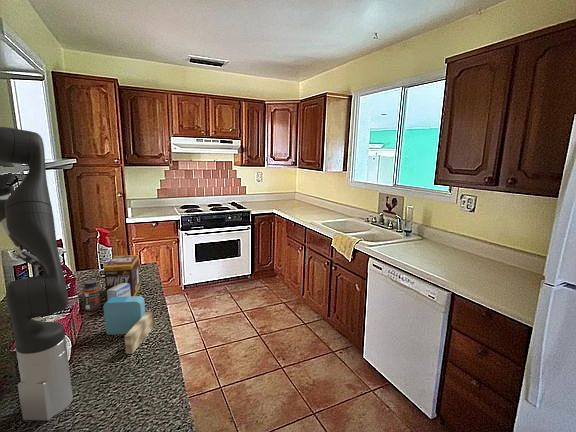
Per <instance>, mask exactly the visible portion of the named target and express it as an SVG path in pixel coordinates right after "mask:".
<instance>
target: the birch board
mask: <svg viewBox="0 0 576 432" xmlns="http://www.w3.org/2000/svg"><path fill="white" fill-rule="evenodd" d="M154 327H155V320H154V311H153V310H146V311H145V314H144V315H143V316H142V317H141V319H140V320H139V321H138V322H137V323H136V324H135V325H134V326H133V327H132V328H131V330H130V331H129V332H128V333H127V334H124V345H125V354H128V355H132V354H134V352H135V351H136V350H137V349H138V347H139V346H140V345H141V344H142V342H143V341H144V340H145V339H146V337H147V336H148V334H149V333H150V332H151V331H152V330H153V328H154Z"/></svg>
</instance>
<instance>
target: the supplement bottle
mask: <svg viewBox="0 0 576 432" xmlns="http://www.w3.org/2000/svg"><path fill="white" fill-rule="evenodd" d="M81 291H82V294H81V295H82V302H83V309H84V310H85V311H86V312H92V311H93V312H94V311H97V310H98V309H100V308H101V307H102V300H101V298H102V297H101V289H100V285H98V282H97V280H95V279H89V280H86V281H84V287H82V290H81Z"/></svg>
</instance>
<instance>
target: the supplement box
mask: <svg viewBox="0 0 576 432" xmlns="http://www.w3.org/2000/svg"><path fill="white" fill-rule="evenodd" d="M139 261H140V260H139V255H138V254H132V255H131V254H130V255H128V254H127V255H114V256H112V258H111V259H110V260H109V261H108V262H107V263H106V264H105V265H104V267H103V272H104V284H105V293H106V302H107V301H108V297H107V290H109V289H111V288H112V287H114V286H116V285H118V284H120V283H128V284H130V293H131V296H137V294H138V293H139V290H140V287H141V279H140V278H141V277H140V276H141V275H140V262H139Z"/></svg>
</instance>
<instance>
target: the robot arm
mask: <svg viewBox="0 0 576 432" xmlns="http://www.w3.org/2000/svg"><path fill="white" fill-rule="evenodd" d="M14 164H18V165H26V166H27V167H28V168H29V169H28V171H27V174H26V175H25V176H24V179H23V180H22V181H21V183H20V184H18V185H17V187H16V188H15V185H14V184H13V185H11V186H9V185H6V184H7V183H11V182H12V183H13V181H14V180H15V178H16V174H17V173H16V174H12V173H8V174H4V175H0V197H3V196H4V197H6V196H7V195H9V196H8V198H7V199H0V224H1V226H2V229H3V230H4V232H5V233H6V235H7V236H8V237H9V238H10V240H11V242H12V243H13V244H14V246H15V247H17V248H19V250H20V252H19V254H17V256H16V257H18V258H19V259H20V260H22V261H24V262H26V263H27V264H30V265H31V266H34V267H36V266H37V267H40V268H41V270H42V271H43V273H44V274H41V275H38V276H32V277H31V276H30V277H26V278H20V279H16V280H12V281H10V282H9V283H8V285H7V286H6V289H5V301H6V305H7V309H8V314H9V318H10V321H11V326H12V332H13V338H14V346H15V351H16V358H17V364H18V369H19V370H18V371H19V376H20V381H19V382H18V383H17V390H18V396H19V403H20V408H21V409H20V410H21V415H22V421H50V420H51V419H52V418H53V417H54V416H56V415H58V414H60V413H62V412H63V411H64V410H66V409H67V408H68V407H69V406H70V405H71V403H72V401H73V399H74V396H73V388H72V386H73V385H72V379H71V372H70V371H71V370H70V365H69V356H68V355H69V354H68V348H67V347H68V346H67V341H66V331H65V327H64V325H63V324H61V323H59V322H56V321H43V320H36V319H35V318H39V317H44V316H48V315H53V314H55V313H60V312H62V311H64V310H66V309H67V307H68V304H69V303H68V302H69V294H68V293H69V292H68V289H67V283H66V279H65V274H64V271H63V270H64V269H63V266H62V263H61V258H60V252H59V249H58V245H57V244H58V242H57V236H56V225H55V217H54V212H53V207H52V206H53V205H52V201H51V197H50V192H49V186H48V180H47V172H46V171H47V169H46V155H45V145H44V140H43V138H42V136H41V135H40V134H39V133H37V132H35V131H29V130H25V129H19V128H14V127H7V126H0V166H3V167H15V165H14Z"/></svg>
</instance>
